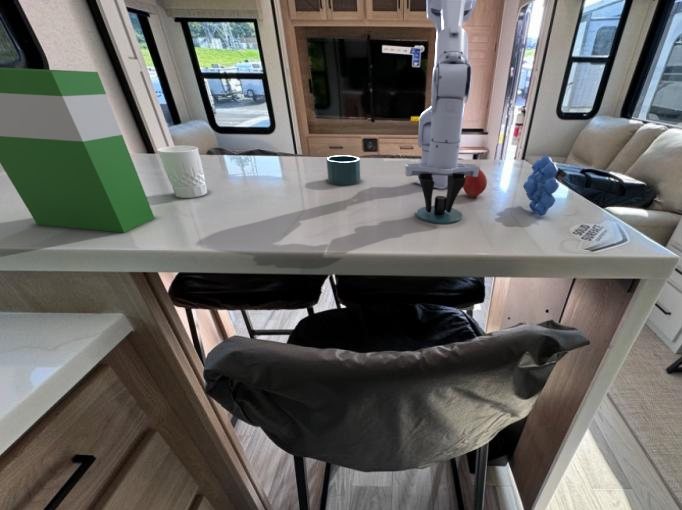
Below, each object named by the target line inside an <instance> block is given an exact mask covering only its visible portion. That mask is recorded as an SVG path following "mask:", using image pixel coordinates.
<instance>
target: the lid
mask: <svg viewBox="0 0 682 510" xmlns="http://www.w3.org/2000/svg"><path fill="white" fill-rule="evenodd" d="M446 197H447V196H444V195H436V196H434V204H433V205H432V207H431V213H428V212H427V211H426V206H422V207H420V208H418V209H417V210H416V212H415V216H416V217H417V218H418V219H419V220H421V221H423V222H426V223H430V224H436V225H451V224H456V223H457V222H458V223H459V222H461V221H462V219H463V214H462V212H461V211H460V210H458V209H455V208H453V207H452V209H451V212H447V211H446V210H445V208H446V199H447V198H446Z"/></svg>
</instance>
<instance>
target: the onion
mask: <svg viewBox="0 0 682 510" xmlns="http://www.w3.org/2000/svg"><path fill="white" fill-rule="evenodd" d="M478 166H479V173H478V177H473V176H464V178H465V179H466V181H465V184H464V186H463V187H462V189H463V190H464V192H465V193H466V194H467V196H468V197H469V198H477V197H479V196H480V195H481V194H482V193H484V191H485V190H486V188H487V184H488V179H487V176H486V174H485V173H484V172H483V170H481V168H480V165H478Z"/></svg>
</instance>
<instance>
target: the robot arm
mask: <svg viewBox="0 0 682 510" xmlns="http://www.w3.org/2000/svg"><path fill="white" fill-rule="evenodd" d="M425 1H426V2H425V4H426V11H425V12H426V19H427V20H429V21H431V22H432V23H433V24H434V27H435V33H436V34H435V35H436V38H435V50H434V51H435V52H434V64H433V69H432V75H431V76H432V77H431V89H430V91H431V92H430V96H431V101H430V106H429V107H428V108H426V109H425V110H424V111H423V112H422V113H421V114H420V116H419V121H418V122H419V123H418V130H417V146H418V147H419V148H421V157H420V158H421V159H420V160H421V161H420V163H419V162H418V163H405V169H404V172H405V173H404V175H405V176H406V177H412V176H416V177H417V178H418V179H415V180H414V181H413V184H417V185H420V186H421V189H422V192H423V197H424V203H425V205H424V206H425V207H426V211H427V212H428V213H431V207H432V206H433V205H432V204H433V192H434V188H435V189H438V190H444V189H446V188H447V190H446V196H445V197H446V198H447V199H446V208H445V210H446V211H447V212H451V209H452V208H453V206H454V203H455V201H456V199H457V197H458V195H459V193H460V192H461V190H462V189H463V186H464V184H465V181H466V179H465V176H473V177H478V173H479V168H480V167H479V166H480V165H479V166H478V165H477V164H475V163H474V164H473V163H472V164H471V163H459V155H460V146H461V138H462V131H463V122H464V115H465V107H466V104H467V102H468V99H469V97H470V92H471V86H472V75H473V72H472V71H473V70H472V63H471V60H470V59H469V36H468V33H467V31H466V30H465V28H463V23H465V22H468V21H469V20H470V17H471V16H472V14H473V11H474V8H475V6H476V3H477V0H425ZM465 103H466V104H465Z"/></svg>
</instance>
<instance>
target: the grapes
mask: <svg viewBox="0 0 682 510" xmlns="http://www.w3.org/2000/svg"><path fill="white" fill-rule="evenodd" d="M531 169H532V171H533V172H531V173H530V174H529V176H528V177H527V179H526V180H525V182H524V183H523V185H522V187H523V189H524V191H525V192H526V194H525V195H526V197H527V198H528V200H529V201H530V202H529V204H528V206H529V208H530V210H531V211H532V212H533V213H536V214H537V215H538V216H541V217H542V216H544V215H546V214H547V213H548V211H549V209H550V208H552V207H553V206H554V204H555V202H556V198H555V196H554V195H553V194H554V193H556V192H557V190H558V189H559V187H560V184H559V181H558V179H556V178H555V176H556V175H557V174H558V172H559V169H558V167H557V165H556V163H554V162H553V160H552V158H551V157H550V156H549V155H543V156H541V158H540V159H537V160H536V161H534V163H533V164H532V166H531Z"/></svg>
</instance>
